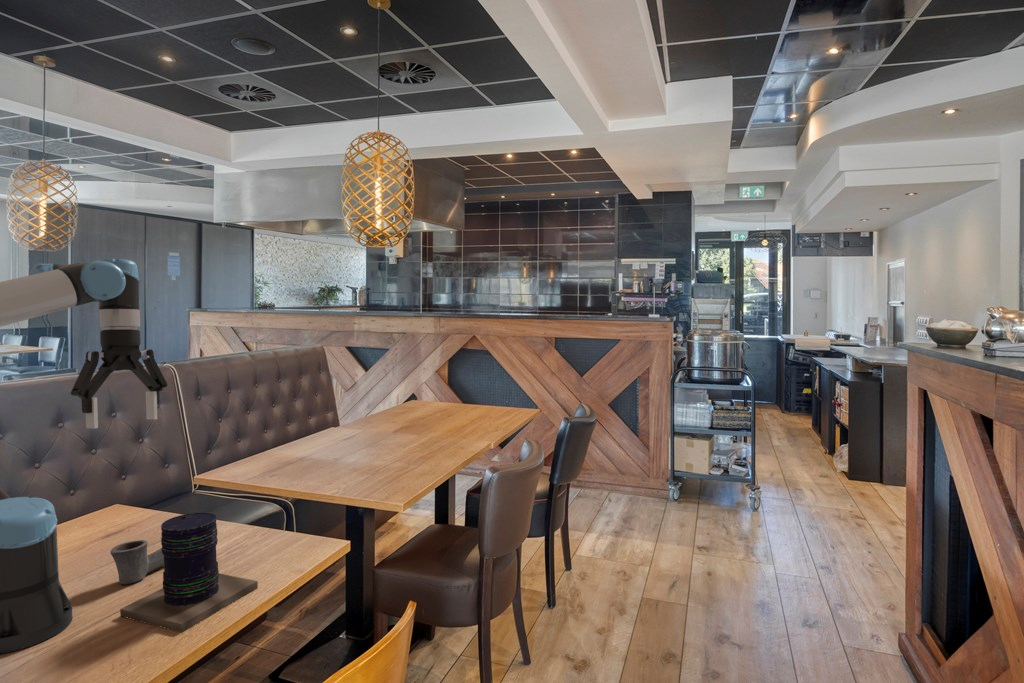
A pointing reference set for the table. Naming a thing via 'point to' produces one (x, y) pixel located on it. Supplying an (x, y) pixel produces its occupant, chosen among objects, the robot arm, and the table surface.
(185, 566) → the navy cylinder
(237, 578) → the walnut serving board
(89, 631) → the table surface
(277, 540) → the table surface
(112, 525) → the table surface
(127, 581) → the pipe
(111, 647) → the table surface
